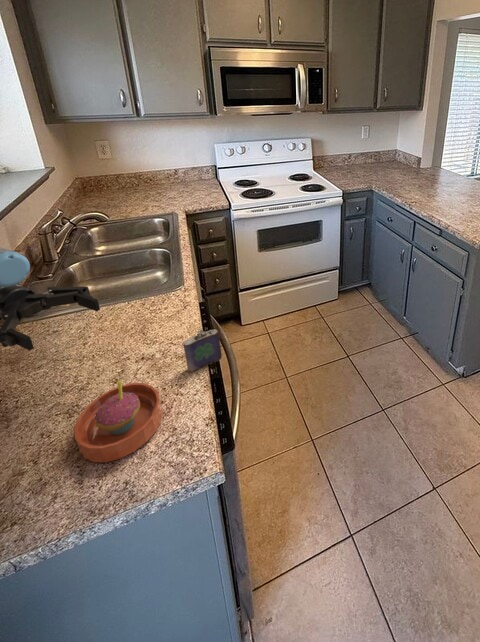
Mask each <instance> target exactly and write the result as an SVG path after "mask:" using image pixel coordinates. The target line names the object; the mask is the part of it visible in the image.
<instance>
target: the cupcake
mask: <svg viewBox="0 0 480 642" xmlns="http://www.w3.org/2000/svg"><path fill="white" fill-rule="evenodd" d="M122 382H123V381H122V380H121V376H119V378H118V381H117V387H118V389H119V394H116V395H114V396H112V397H110V398H109V399H107V400H106V401H105V402H104V403H103V404H101V406H100V408H99V409H98V410H97V412H96V418H95V420H96V426H97V427H98V428H99V429H102V430H109V431H110V432H111V433H112V434H113V435H120V434H123V433H125V432H127V431H128V430H129V429H130V428H131V427H132V426H133V424H134V420H135V416H136V414H137V412H138V411H139V408H140V401H139V399H138V397H137V396H136V394H134V393H132V392H122V385H123V384H122Z"/></svg>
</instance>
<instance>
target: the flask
mask: <svg viewBox="0 0 480 642" xmlns="http://www.w3.org/2000/svg"><path fill="white" fill-rule="evenodd" d="M195 331H196V332H197V334H195V335H194V336H192V337H190V338H188V339H186V340H184V341H183V343H182V345H183V351H184V356H185V360H186V366H187V371H188V372H189V373H193V372H197V371H198V370H200V369H203V368H206V367H207V366H208V365H212V364H213V363H216V362H219V361H220V360H222V358H223V356H222V355H223V354H222V346H221V339H220V333H219V331H218V330H217V329H209V330H207V331H204V330H203V331H202V328H198V329H197V330H195Z"/></svg>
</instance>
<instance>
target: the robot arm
mask: <svg viewBox="0 0 480 642" xmlns="http://www.w3.org/2000/svg"><path fill="white" fill-rule="evenodd" d="M30 271H31V263H30V261H29V259H28V258H27V257H26V256H25V255H23V254H21V253H20V252H18V251H14V250H10V249H7V248H4V247H1V246H0V321H3V322H2V325H1V326H0V344H1V346H2V347H3V348H6V347H8V346H9V347H14V346H19V347H21V348H23V349H25V350H28V351H31V350H33V349H34V348H35V347H34V344H33V341H32V339H31V336H30V335H27V334H25V333H23V332H20V331H18V330H16V329H17V327H18V326H19V325H21V323H22V321H23V319H24V318H25V319H26V318H28V317H30V316H33V314H36V313H38V312H41V311H46V310H51V308H53V307H59V306H66V305H71V304H77V305H78V306H80V307H83V308H86V309H89V310H91V311H95V312H98V311H100V310H101V308H100V305H99V301H98V299H97V298H96V297H95V298H94V297H93V295H91V293H90V288H89V286H86V285H85V286H62V287H61V286H60V287H58V286H52V285H51V286H48V287H46V290H47V291H45V292H43V293H40V292H39V293H38V292H37V293H36V292H35V291H33V290H32V289H30V288H28V287H25V286H22V285H20V283H22V282H23V281H24V280H25V279H26V278H27V277H28V275H29V273H30Z"/></svg>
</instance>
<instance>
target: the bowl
mask: <svg viewBox="0 0 480 642" xmlns="http://www.w3.org/2000/svg"><path fill="white" fill-rule="evenodd" d="M122 392H132V393H134V394H136V396H137V397H138V399H139V401H140V408H139V411H138V412H137V414H136V416H135V420H134V424H133V426H132V427H131V428H130V429H129V430H128V431H127V432H125V433H123V434H120V435H113V434H112V433H111V432H110V431H109V430H102V429H99V428H98V427H97V426H96V420H95V418H96V412H97V410H98V409H99V408H100V406H101V404H103V403H104V402H105V401H106V400H107V399H109V398H110V397H112V396H114V395H116V394H119V389H118V386H116V387H115V388H112V389H109V390H108V391H106V392H104V393H103V394H100V395H99V396H98V397H97V398H95V399H93V401H91V402H90V403H89V404H88V405H87V406H86V407H85V408H84V410H83V411H82V412H81V414H80V415H79V416H78V418H77V420H76V423H75V426H74V440H75V443H76V445H77V447H78V450H79V452H80V454H81V455H82V457H83V458H84V459H86V460H88V461H91V462H92V463H108V462H109V463H110V462H112V461H116V460H120V459H122V458H124V457H126V456H128V455H130V454H132V453H134V452H136V451H137V450H138V449H140V448H141V447H142V446H143V445H144V444H146V443H147V442H148V441H149V440H150V439H151V437H152V436H153V435H154V434H155V433H156V431H157V430H158V428H159V426H160V424H161V422H162V417H163V407H162V402H161V398H160V395H159V391H158V390H157V389H156V388H155V387H154V386H153V385H150V384H148V383H144V382H132V383H127V384H122Z"/></svg>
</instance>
